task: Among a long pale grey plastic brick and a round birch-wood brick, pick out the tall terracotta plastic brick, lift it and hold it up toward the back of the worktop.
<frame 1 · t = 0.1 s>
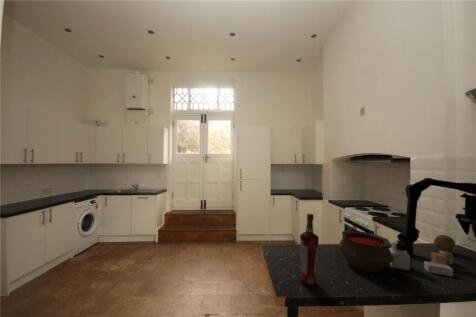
hand: (472, 236, 109), 15 cm above the countertop, fingers open, 9 cm apart
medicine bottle: (398, 266, 104), on the countertop
brown pot: (363, 265, 103), on the countertop
natural sponge: (443, 252, 124), on the countertop
terracotta tall brick: (438, 266, 106), on the countertop
liquor: (307, 282, 87), on the countertop
long grey brick: (437, 272, 100), on the countertop
round birch brick: (445, 262, 110), on the countertop
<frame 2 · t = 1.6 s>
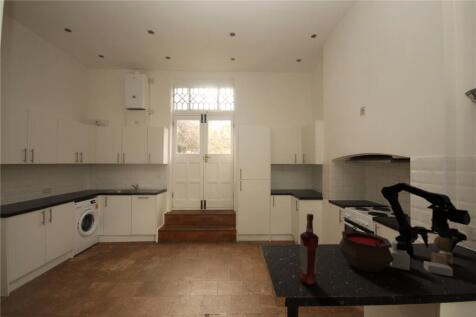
hand: (438, 249, 106), 8 cm above the countertop, fingers open, 9 cm apart
nothing on the countertop moved.
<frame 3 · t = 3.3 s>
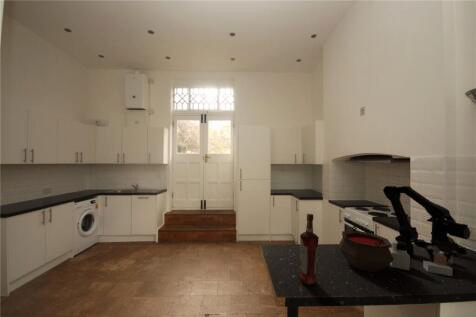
hand: (438, 263, 106), 2 cm above the countertop, fingers closed on terracotta tall brick, 4 cm apart
terracotta tall brick: (438, 266, 106), on the countertop, touching gripper
everything else where it was.
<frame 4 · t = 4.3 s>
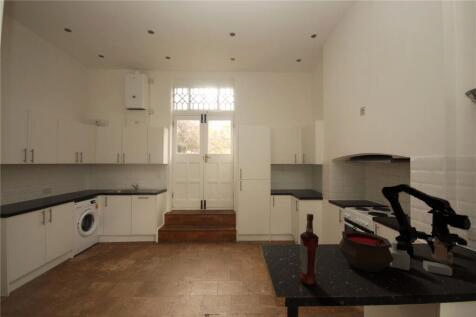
hand: (438, 254, 106), 6 cm above the countertop, fingers closed on terracotta tall brick, 4 cm apart
terracotta tall brick: (438, 257, 106), point 4 cm above the countertop, touching gripper
everything else where it was.
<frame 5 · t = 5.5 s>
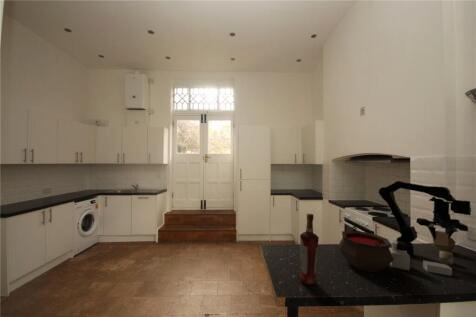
hand: (440, 240, 108), 12 cm above the countertop, fingers closed on terracotta tall brick, 4 cm apart
terracotta tall brick: (440, 243, 108), point 10 cm above the countertop, touching gripper
everything else where it was.
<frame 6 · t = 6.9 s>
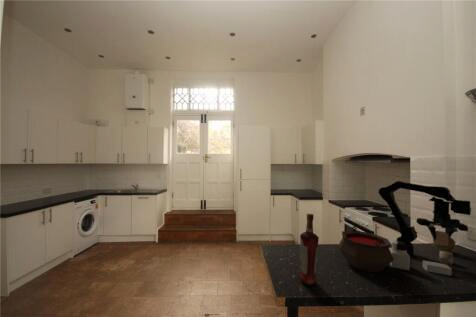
hand: (440, 240, 109), 12 cm above the countertop, fingers closed on terracotta tall brick, 4 cm apart
terracotta tall brick: (440, 243, 109), point 10 cm above the countertop, touching gripper
everything else where it was.
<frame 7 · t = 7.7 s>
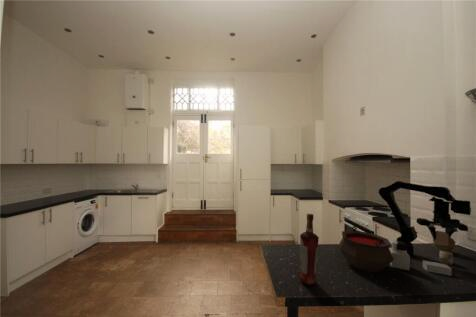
hand: (440, 240, 109), 12 cm above the countertop, fingers closed on terracotta tall brick, 4 cm apart
terracotta tall brick: (440, 243, 109), point 10 cm above the countertop, touching gripper
everything else where it was.
at the end: the gripper is holding terracotta tall brick; terracotta tall brick point 10.4 cm above the countertop; long grey brick moved 0.9 cm from its start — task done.
